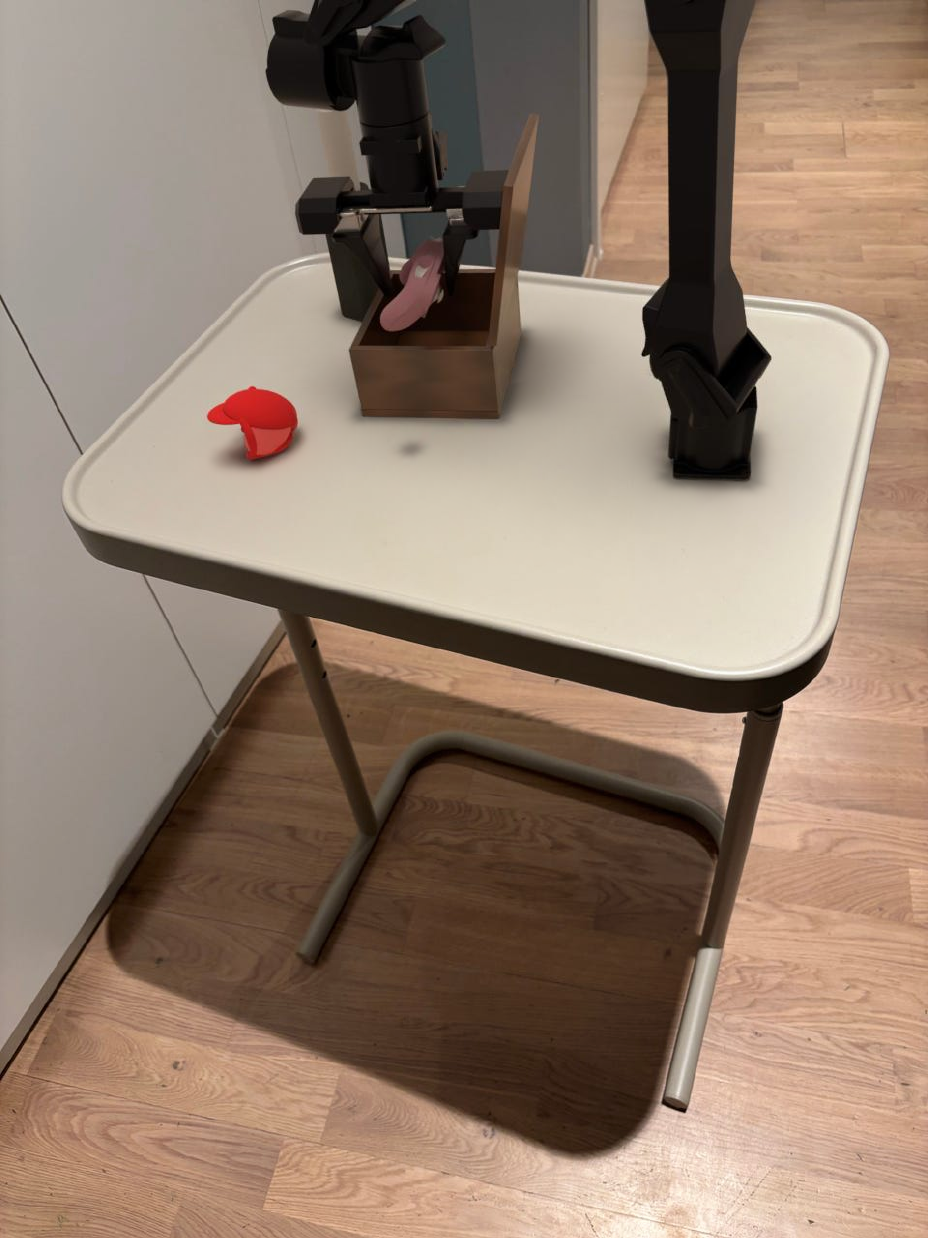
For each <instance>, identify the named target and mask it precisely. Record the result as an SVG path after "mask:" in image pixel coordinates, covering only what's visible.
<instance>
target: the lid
mask: <svg viewBox="0 0 928 1238" xmlns="http://www.w3.org/2000/svg"><path fill="white" fill-rule="evenodd" d="M538 124H539V113H529V116H528V118H527V122H526V124H525V126H524V129H523V132H522V134H521V137H520V140H519V143H518V145H517V148H516V151H515V153H514V157H513V159H512V162H511V165H510V166H509V169H508V170H509V172H508V175H507V178H506V181H505V183H504V186H503V197H502V207H501V217H500V227H499V231H498V236H497V237H498V238H497V249H496V257H495V258H496V259H495V268H494V269H495V278H494V288H493V298H492V308H491V319H490V329H489V339H488V345H492V346H497V343H498V340H499V336H500V333H501V329H502V326H503V323H504V319H505V316H506V313H507V309H508V306H509V303H510V299H511V296H512V293H513V289H514V286H515V282H516V279H517V276H518V277H519V272H520V269H521V266H522V259H523V252H524V251H523V250H524V242H525V235H526V225H527V217H528V209H529V200H530V192H531V183H532V174H533V167H534V159H535V151H536V150H535V149H536V143H537V142H536V141H537V134H538V126H539V125H538Z"/></svg>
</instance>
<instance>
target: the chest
mask: <svg viewBox="0 0 928 1238" xmlns="http://www.w3.org/2000/svg"><path fill="white" fill-rule="evenodd" d="M400 271H401V269H390V270H389V273H390V278H391V287H392V294H391V297H390V298H386V297H385V296H384V295H383V293H382V292H381V290H380V289H378V291H377V293H376V295H375V297H374V299H373V301H372V303H371V305H370V307H369V309H368V311H367V313H366V315H365V318H364V320H363V322H361V324H360V326H359V328H358V330H357V331H356V334H355V336H354V338H353V340H352V342H351V344H350V346H349V348H348V354H349V359H350V364H351V367H352V373H353V377H354V382H355V388H356V391H357V395H358V396H357V397H358V400H359V401H358V402H359V405H360V409H361V415H362V417H385V418H387V417H390V418H392V417H393V418H394V417H395V418H440V419H441V418H444V419H445V418H447V419H493V420H495V419H500V415H501V411H502V408H503V404H504V400H505V396H506V393H507V389H508V385H509V381H510V378H511V374H512V370H513V367H514V363H515V359H516V356H517V352H518V348H519V346H520V345H519V344H520V340H521V337H522V333H523V332H522V321H521V306H520V305H521V303H520V289H519V275H518V276H517V279H516V282H515V286H514V289H513V293H512V296H511V299H510V303H509V306H508V309H507V313H506V316H505V319H504V323H503V326H502V329H501V333H500V336H499V340H498V343H497V346H492V345H488V339H489V329H490V319H491V308H492V298H493V288H494V278H495V268H459V273H458V278H457V283H456V288H455V292H454V295H453V297H449V296H448V292H447V288H446V281H445V271H444V272H443V275H442V277H441V278H440V281H439V285H440V287H441V290H440V293H441V291H442V289H443V294H444V295H443V297H442V300H441V301H440V302H439V303H437V302H438V299H437V300H435V301H434V302H433V303H432V304H431V305H430V306H429V308H428V311H427V314H426V316H425V318H423V317H420V318H419V319H418V320H416V321H415V322H414V323H412V324H411V325H410V326H408V327H406V328H405V329H402V330H398V331H387V330H385V329H384V328H383V327H382V325H381V323H380V316H381V313H382V311H383V310H384V308H385V307H386V306H387V305H388V304H389V303H390V302H391V301H392V300H394V299H395V298H396V297H397V296H398V295H399V294H400V293H401V291H402V290H403V289H404V287H405V285H404V284H403V283H402V282H401V280H400Z"/></svg>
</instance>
